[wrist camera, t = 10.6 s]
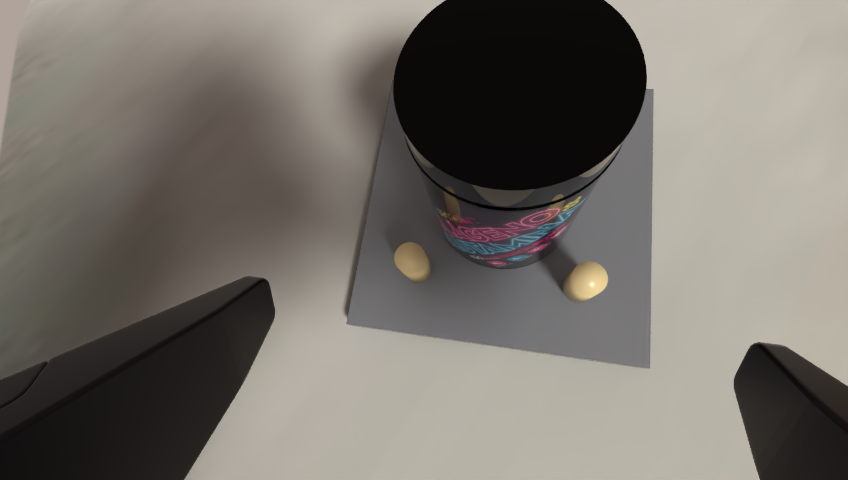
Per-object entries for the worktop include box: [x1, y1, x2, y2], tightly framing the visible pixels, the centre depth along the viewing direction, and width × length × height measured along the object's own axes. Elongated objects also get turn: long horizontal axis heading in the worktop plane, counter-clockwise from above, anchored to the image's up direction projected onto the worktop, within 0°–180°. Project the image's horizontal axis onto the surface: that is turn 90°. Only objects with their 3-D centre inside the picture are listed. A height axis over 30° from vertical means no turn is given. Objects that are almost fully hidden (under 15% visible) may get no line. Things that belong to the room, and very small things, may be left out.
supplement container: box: [393, 0, 647, 269], centre depth 16 cm, size 7×7×10 cm
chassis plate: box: [346, 80, 653, 368], centre depth 21 cm, size 14×14×4 cm
